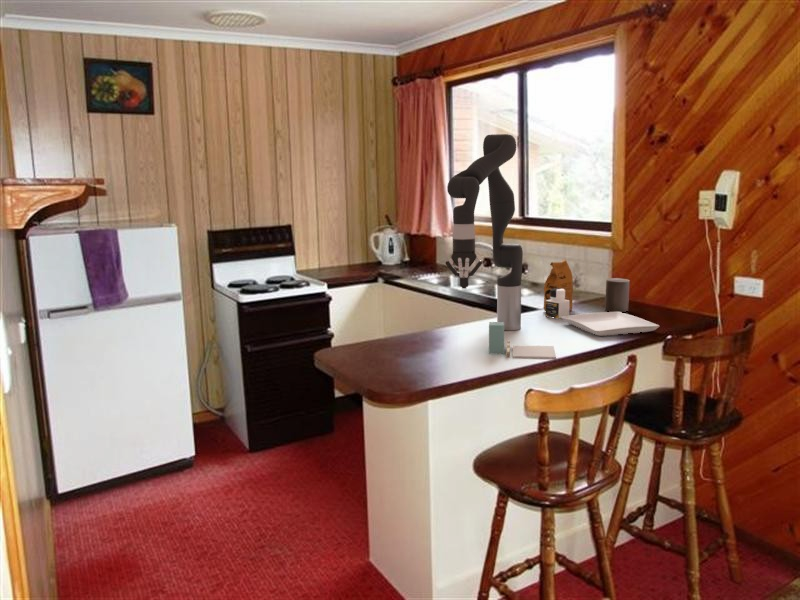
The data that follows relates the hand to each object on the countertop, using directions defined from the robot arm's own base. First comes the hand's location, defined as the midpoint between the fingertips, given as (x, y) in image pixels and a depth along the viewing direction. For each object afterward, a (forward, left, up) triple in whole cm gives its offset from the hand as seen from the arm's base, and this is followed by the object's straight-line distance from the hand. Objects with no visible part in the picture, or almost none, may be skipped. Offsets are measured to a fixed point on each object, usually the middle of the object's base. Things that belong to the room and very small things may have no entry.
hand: (464, 288), depth 228 cm
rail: (0, +15, -22) cm, 27 cm away
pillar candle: (-71, +61, -23) cm, 96 cm away
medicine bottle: (-58, +35, -23) cm, 71 cm away
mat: (0, +24, -22) cm, 32 cm away
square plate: (-38, +53, -23) cm, 69 cm away
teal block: (0, +11, -22) cm, 25 cm away
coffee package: (-70, +36, -23) cm, 82 cm away
